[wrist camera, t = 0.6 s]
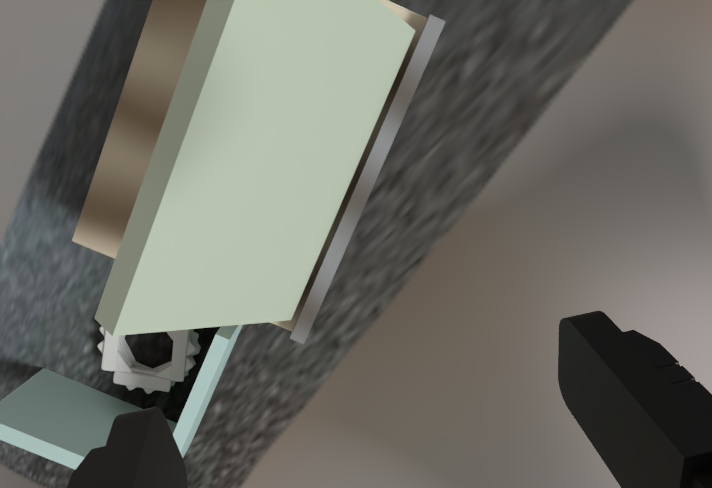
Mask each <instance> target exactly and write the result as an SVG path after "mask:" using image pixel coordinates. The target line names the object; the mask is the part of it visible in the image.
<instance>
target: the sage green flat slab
mask: <svg viewBox="0 0 712 488" xmlns="http://www.w3.org/2000/svg"><path fill="white" fill-rule="evenodd" d="M414 33H415V30H414V29H413V28H412V27H411V26H409V25H408V24H407V23H406V22H405V21H404V20H402V19H401V18H400V17H399V16H398V15H396V14H395V13H394V12H393V11H392V10H390V9H389V8H388V7H387V6H386V5H384V4H383V3H382V2H381V1H380V0H207V1H206V4H205V7H204V9H203V12H202V15H201V18H200V21H199V24H198V26H197V29H196V32H195V35H194V38H193V41H192V43H191V46H190V49H189V52H188V55H187V58H186V60H185V63H184V66H183V69H182V72H181V74H180V77H179V80H178V83H177V86H176V89H175V91H174V94H173V97H172V100H171V103H170V106H169V108H168V111H167V114H166V117H165V120H164V123H163V125H162V128H161V131H160V134H159V137H158V139H157V142H156V145H155V148H154V151H153V154H152V156H151V159H150V162H149V165H148V168H147V171H146V173H145V176H144V179H143V182H142V185H141V188H140V190H139V193H138V196H137V199H136V202H135V205H134V207H133V210H132V213H131V216H130V219H129V221H128V224H127V227H126V230H125V233H124V236H123V238H122V241H121V244H120V247H119V250H118V253H117V255H116V258H115V261H114V264H113V267H112V270H111V272H110V275H109V278H108V281H107V284H106V286H105V289H104V292H103V295H102V298H101V301H100V303H99V306H98V309H97V312H96V315H95V318H94V319H95V320H96V321H97V322H98V323H99V324H100V325H101V326H102V327H103V328H105V329H106V330H107V331H108V332H109V333H110V334H111V335H112V336H120V335H131V334H142V333H153V332H165V331H176V330H187V329H198V328H209V327H220V326H231V325H242V324H253V323H265V322H276V321H287V320H291V319H292V317H293V314H294V312H295V310H296V307H297V305H298V303H299V300H300V298H301V296H302V294H303V291H304V289H305V287H306V284H307V282H308V280H309V277H310V275H311V273H312V270H313V268H314V266H315V263H316V261H317V259H318V256H319V254H320V252H321V249H322V247H323V245H324V242H325V240H326V238H327V235H328V233H329V231H330V229H331V226H332V224H333V222H334V219H335V217H336V215H337V212H338V210H339V208H340V205H341V203H342V201H343V198H344V196H345V194H346V191H347V189H348V187H349V184H350V182H351V180H352V177H353V175H354V173H355V170H356V168H357V166H358V164H359V161H360V159H361V157H362V154H363V152H364V150H365V147H366V145H367V143H368V140H369V138H370V136H371V133H372V131H373V129H374V126H375V124H376V122H377V119H378V117H379V115H380V112H381V110H382V108H383V105H384V103H385V101H386V98H387V96H388V94H389V92H390V89H391V87H392V85H393V82H394V80H395V78H396V75H397V73H398V71H399V68H400V66H401V64H402V61H403V59H404V57H405V54H406V52H407V50H408V47H409V45H410V43H411V40H412V38H413V36H414Z"/></svg>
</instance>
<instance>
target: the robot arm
mask: <svg viewBox="0 0 712 488" xmlns="http://www.w3.org/2000/svg"><path fill="white" fill-rule="evenodd" d="M558 380H559V386H560V390H561V393H562V396H563V399H564V401H565V403H566V405H567V407H568V409H569V410H570V412H571V413H572V415H573V416H574V418H575V419H576V421H577V422H578V423H579V425H580V427H581V428H582V430H583V431H584V432H585V434H586V436H587V437H588V439H589V440H590V442H591V443H592V444H593V446H594V448H595V449H596V451H597V452H598V453H599V455H600V456H601V458H602V459H603V461H604V462H605V464H606V465H607V467H608V468H609V470H610V471H611V473H612V474H613V476H614V477H615V479H616V480H617V482H618V483H619V485H620V486H621V488H712V394H711V393H709V391H708V390H706V388H705V387H703V385H701V384H700V383H699V382H696V381H695V378H694V377H693V376H692V375H691V374H690V373H689V372H688V371H687V370H686V369H685V368H684V367H683V366H680V365H679V362H678V361H677V360H676V359H675V358H674V357H673V356H672V355H671V354H670V353H669V352H668V351H667V350H666V349H665V348H664V347H663V346H662V345H661V344H660V343H658V342H656V341H654V340H652V339H650V338H648V337H646V336H644V335H642V334H640V333H638V332H637V331H635V330H631V331H627V332H622V331H621V330H620V329H619V328H618V327H617V326H616V325H615V324H614V323H613V322H612V320H611V319H609V318H608V316H607V315H606V314H605V313H603V312H601V311H595V312H590V313H586V314H582V315H576V316H572V317H568V318H563V319H562V320H561V321H560V324H559V357H558ZM67 488H188V481H187V472H186V467H185V463H184V460H183V458H182V455H181V453H180V451H179V448H178V446H177V444H176V441H175V439H174V437H173V434H172V432H171V430H170V427H169V425H168V423H167V420H166V418H165V416H164V414H163V412H162V410H161V409H160V408H159V407H152V408H147V409H143V410H138V411H134V412H129V413H125V414H120V415H117V416H116V417H115V419H114V421H113V424H112V427H111V430H110V433H109V436H108V439H107V442H106V446H103V447H99V448H94V449H91V450H90V452H89V453H88V454H87V456H86V457H85V458H84V459H83V461H82V462H81V463H80V465H79V466H78V467H77V468H76V470H75V471H74V472H73V474H72V476H71V478H70V481H69V484H68V486H67Z"/></svg>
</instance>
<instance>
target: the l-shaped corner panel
mask: <svg viewBox="0 0 712 488" xmlns="http://www.w3.org/2000/svg"><path fill="white" fill-rule="evenodd" d="M242 325H243V324H242ZM242 325H231V326H221V327H220V329H219V330H218V331H217V333H216V334H215V337H214V339H213V341H212V344H211V346H210V348H209V351H208V353H207V355H206V358H205V360H204V362H203V365H202V367H201V369H200V372H199V374H198V376H197V379H196V381H195V383H194V386H193V388H192V391H191V393H190V395H189V398H188V400H187V402H186V405H185V407H184V409H183V412H182V414H181V416H180V419H179V421H178V423H176V422H173V421H171V420H169V419H166V420H167V423H168V425H169V427H170V430H171V432H172V434H173V437H174V439H175V441H176V444H177V446H178V448H179V451H180V453H181V455H182V458H183V457H184V455H185V453H186V451H187V450H188V448H189V446H190V444H191V442H192V440H193V438H194V435H195V433H196V431H197V428H198V426H199V424H200V421H201V419H202V417H203V415H204V412H205V410H206V408H207V405H208V403H209V401H210V399H211V396H212V394H213V392H214V389H215V387H216V385H217V383H218V380H219V378H220V376H221V373H222V371H223V369H224V367H225V364H226V362H227V360H228V357H229V355H230V353H231V351H232V348H233V346H234V344H235V341H236V339H237V337H238V335H239V332H240V330H241V328H242ZM99 329H100V332H101V333H102V334H103V336H104V340H103V341H101V342H100V343H99V344H98V345H97V347H98V349H99V350H100V351H101V353H102V354H103V356H102V365H101V369H102V370H106V371H114V377H113V383H115V384H120V385H125V386H126V387H127V388H128V390H133V389H134V388H136V387H139V388H143V389H144V391H145V392H146V393H147V394H150V393H152V392H153V391H155V390H158V391H164V392H169V391H170V387H171V386H174V384H175V381H177V382H183V381H184V377H186V376H188V374H189V370H190V369H191V368H192V367H193V366H195V365H196V363H195V360H194V358H193V356H194V355H196V354H198V353H200V349H201V347H200V345H199V343H198V341H197V339H198V337H199V334H198V333H196V332H194V331H193V329H187V330H176V331H166V332H167V334H168V335H169V336H170V338H171V339H172V340H173V352H172V361H170V362H167V363H165V364H163V365H160V366H158V367H155V368H153V369H152V368H150V367H148V366H145V365H143V364H141V363H138V362H136V360H135V358H134V356H133V354H132V352H131V350H130V348H129V346H128V344H127V342H126V340H125V336H126V335H120V336H112V335H111V334H110V333H109V332H108V331H107V330H106V329H105V328H103V327H102V326H101V327H100V328H99ZM138 410H143V409H142V408H139V407H137V406H135V405H132V404H130V403H127V402H125V401H122V400H120V399H118V398H115V397H113V396H110V395H108V394H105V393H103V392H101V391H98V390H96V389H93V388H91V387H88V386H86V385H84V384H81V383H79V382H76V381H74V380H71V379H69V378H67V377H64V376H62V375H59V374H57V373H54V372H52V371H50V370H47V369H45V368H43V369H42V370H40V371H39V372H38V373H36V374H35V375H34V376H32V377H31V378H30V379H29V380H27V381H26V382H25V383H23V384H22V385H21V386H19V387H18V388H17V389H15V390H14V391H13V392H12V393H10V394H9V395H8V396H6V397H5V398H4V399H2V400H1V401H0V440H2V441H5V442H7V443H10V444H12V445H15V446H17V447H20V448H22V449H25V450H27V451H30V452H32V453H35V454H38V455H40V456H43V457H45V458H48V459H50V460H53V461H55V462H58V463H60V464H63V465H65V466H68V467H70V468H73V469H75V470H76V468H77V467H78V466H79V465H80V463H81V462H82V461H83V459H84V458H85V457H86V456H87V454H88V453H89V452H90V450H91V449H94V448H99V447H103V446H106V442H107V439H108V436H109V433H110V430H111V427H112V424H113V421H114V419H115V417H116V416H117V415H120V414H125V413H129V412H134V411H138Z"/></svg>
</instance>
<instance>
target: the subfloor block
mask: <svg viewBox="0 0 712 488" xmlns="http://www.w3.org/2000/svg"><path fill="white" fill-rule="evenodd" d="M206 1H207V0H152V3H151V6H150V9H149V12H148V15H147V18H146V21H145V24H144V27H143V30H142V33H141V36H140V39H139V42H138V45H137V48H136V51H135V54H134V57H133V60H132V63H131V66H130V69H129V72H128V75H127V78H126V81H125V84H124V87H123V90H122V93H121V96H120V99H119V102H118V105H117V108H116V111H115V114H114V117H113V120H112V123H111V126H110V129H109V132H108V135H107V138H106V140H105V143H104V146H103V149H102V152H101V155H100V158H99V161H98V164H97V167H96V170H95V173H94V176H93V179H92V182H91V185H90V188H89V191H88V194H87V197H86V200H85V203H84V206H83V209H82V212H81V215H80V218H79V221H78V224H77V227H76V230H75V233H74V236H73V239H72V241H73V242H76V243H78V244H81V245H83V246H85V247H88V248H90V249H93V250H95V251H98V252H100V253H102V254H105V255H107V256H110V257H112V258H116V255H117V253H118V250H119V247H120V244H121V241H122V238H123V236H124V233H125V230H126V227H127V224H128V221H129V219H130V216H131V213H132V210H133V207H134V205H135V202H136V199H137V196H138V193H139V190H140V188H141V185H142V182H143V179H144V176H145V173H146V171H147V168H148V165H149V162H150V159H151V156H152V154H153V151H154V148H155V145H156V142H157V139H158V137H159V134H160V131H161V128H162V125H163V123H164V120H165V117H166V114H167V111H168V108H169V106H170V103H171V100H172V97H173V94H174V91H175V89H176V86H177V83H178V80H179V77H180V74H181V72H182V69H183V66H184V63H185V60H186V58H187V55H188V52H189V49H190V46H191V43H192V41H193V38H194V35H195V32H196V29H197V26H198V24H199V21H200V18H201V15H202V12H203V9H204V7H205V4H206ZM380 1H381V2H382V3H383V4H384V5H386V6H387V7H388V8H389V9H390V10H392V11H393V12H394V13H395V14H396V15H398V16H399V17H400V18H401V19H402V20H404V21H405V22H406V23H407V24H408V25H409V26H411V27H412V28H413V29H414V30H415V33H414V36H413V38H412V40H411V43H410V45H409V47H408V50H407V52H406V54H405V57H404V59H403V61H402V64H401V66H400V68H399V71H398V73H397V75H396V78H395V80H394V82H393V85H392V87H391V89H390V92H389V94H388V96H387V98H386V101H385V103H384V105H383V108H382V110H381V112H380V115H379V117H378V119H377V122H376V124H375V126H374V129H373V131H372V133H371V136H370V138H369V140H368V143H367V145H366V147H365V150H364V152H363V154H362V157H361V159H360V161H359V164H358V166H357V168H356V170H355V173H354V175H353V177H352V180H351V182H350V184H349V187H348V189H347V191H346V194H345V196H344V198H343V201H342V203H341V205H340V208H339V210H338V212H337V215H336V217H335V219H334V222H333V224H332V226H331V229H330V231H329V233H328V235H327V238H326V240H325V242H324V245H323V247H322V249H321V252H320V254H319V256H318V259H317V261H316V263H315V266H314V268H313V270H312V273H311V275H310V277H309V280H308V282H307V284H306V287H305V289H304V291H303V294H302V296H301V298H300V300H299V303H298V305H297V307H296V310H295V312H294V314H293V317H292V319H291V320H287V321H276V322H270V323H273V324H275V325H278V326H280V327H283V328H285V329H288V330H290V331H292V334H291V337H290V339H292V340H295V341H297V342H300V343H302V344H304V343H305V340H306V338H307V336H308V333H309V331H310V329H311V327H312V324H313V322H314V320H315V317H316V315H317V313H318V311H319V308H320V306H321V304H322V302H323V299H324V297H325V295H326V292H327V290H328V288H329V286H330V283H331V281H332V279H333V277H334V274H335V272H336V270H337V267H338V265H339V263H340V261H341V258H342V256H343V254H344V252H345V249H346V247H347V245H348V242H349V240H350V238H351V236H352V233H353V231H354V229H355V227H356V224H357V222H358V220H359V217H360V215H361V213H362V211H363V208H364V206H365V204H366V202H367V199H368V197H369V195H370V192H371V190H372V188H373V186H374V183H375V181H376V179H377V177H378V174H379V172H380V170H381V167H382V165H383V163H384V161H385V158H386V156H387V154H388V152H389V149H390V147H391V145H392V142H393V140H394V138H395V136H396V133H397V131H398V129H399V126H400V124H401V122H402V120H403V117H404V115H405V113H406V111H407V108H408V106H409V104H410V101H411V99H412V97H413V95H414V92H415V90H416V88H417V86H418V83H419V81H420V79H421V76H422V74H423V72H424V70H425V67H426V65H427V63H428V61H429V58H430V56H431V54H432V51H433V49H434V47H435V45H436V42H437V40H438V38H439V36H440V33H441V31H442V29H443V26H444V24H445V21H443V20H441V19H439V18H437V17H435V16H432V15H430V16H429V18H428V19H427V18H425V17H423V16H421V15H419V14H417V13H414V12H412V11H410V10H408V9H406V8H404V7H401V6H399V5H397V4H395V3H393V2H391V1H388V0H380Z"/></svg>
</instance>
